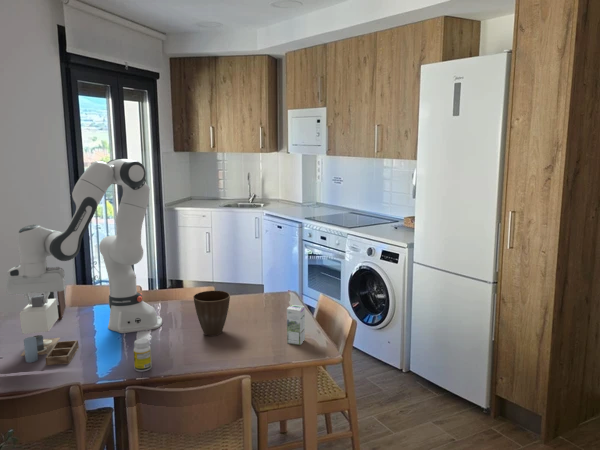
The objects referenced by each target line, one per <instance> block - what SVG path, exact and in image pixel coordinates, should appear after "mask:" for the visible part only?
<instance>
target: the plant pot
mask: <svg viewBox="0 0 600 450" xmlns="http://www.w3.org/2000/svg"><path fill="white" fill-rule="evenodd" d="M230 298H231V294H230V293H229V292H227V291H224V290H205V291H200V292H198V293H195V294H194V295H193V302H194V309H195V313H196V316H197V319H198V323H199V325H200V328H201V330H202V333H203V334H204V335H205V336H208V337H209V336H211V337H212V336H219V335H221V334H222V332H223V330H224V326H225V324H226V321H227V317H228V312H229V307H230Z"/></svg>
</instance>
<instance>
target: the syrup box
mask: <svg viewBox="0 0 600 450" xmlns="http://www.w3.org/2000/svg"><path fill="white" fill-rule="evenodd" d="M305 308H306V306H305V305H297V304H290V305H289V306H288V307H287V308H286V343H287V345H288V344H290V345H297V346H301V345H302V344H303V343H304V342H305V341H304V340H306V338H305V337H306V334H305V331H306V330H305V326H306V325H305V323H306V322H305V314H306V313H305V310H306V309H305ZM303 341H304V342H303Z"/></svg>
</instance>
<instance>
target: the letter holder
mask: <svg viewBox="0 0 600 450" xmlns="http://www.w3.org/2000/svg"><path fill="white" fill-rule="evenodd" d="M56 293H57V307H58V316H59V318H58V319H57V321H60V320H63V315H64V313H65V309H66V306H67V305H66V297H65V289H64V290H63V291H56ZM40 295H44V296H45V293H41V294H40ZM48 299H55V292H50V294H49V296H48Z"/></svg>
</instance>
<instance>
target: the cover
mask: <svg viewBox="0 0 600 450" xmlns="http://www.w3.org/2000/svg"><path fill="white" fill-rule="evenodd" d="M30 298H31V301H32V305H29V303H28V304H27V305H26V306H25V307H23V309H22V310H21V311H20V312H19V319H20V320H19V321H20V327H21V334H22V335H29V334H39V333H48V332H49V331H50V330H51V328H52V327H53V326H54V325H55V323H56V322H57V321H58V320H57V319H58V318H59V316H58V307H57V305H58V298H54V299H48V303H45V304H43V301H42V299H43V298H45V294H44V295H41V294H38V295H33V296H32V297H30Z"/></svg>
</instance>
